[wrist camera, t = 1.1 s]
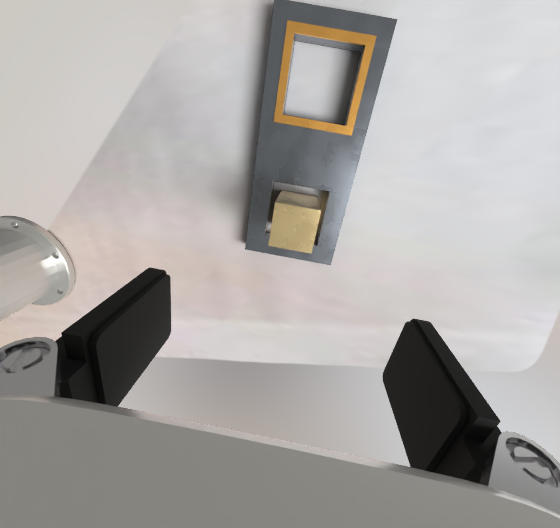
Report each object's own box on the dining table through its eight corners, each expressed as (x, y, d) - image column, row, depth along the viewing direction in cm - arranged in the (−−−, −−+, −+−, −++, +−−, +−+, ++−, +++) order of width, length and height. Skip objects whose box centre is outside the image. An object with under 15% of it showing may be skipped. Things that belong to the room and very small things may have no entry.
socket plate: (329, 260, 31) (330, 265, 30) (247, 244, 31) (244, 249, 30) (391, 27, 22) (397, 18, 21) (276, 7, 22) (274, -4, 21)
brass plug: (310, 231, 30) (311, 253, 24) (276, 225, 30) (268, 245, 24) (317, 196, 28) (321, 210, 22) (281, 190, 28) (275, 202, 22)
